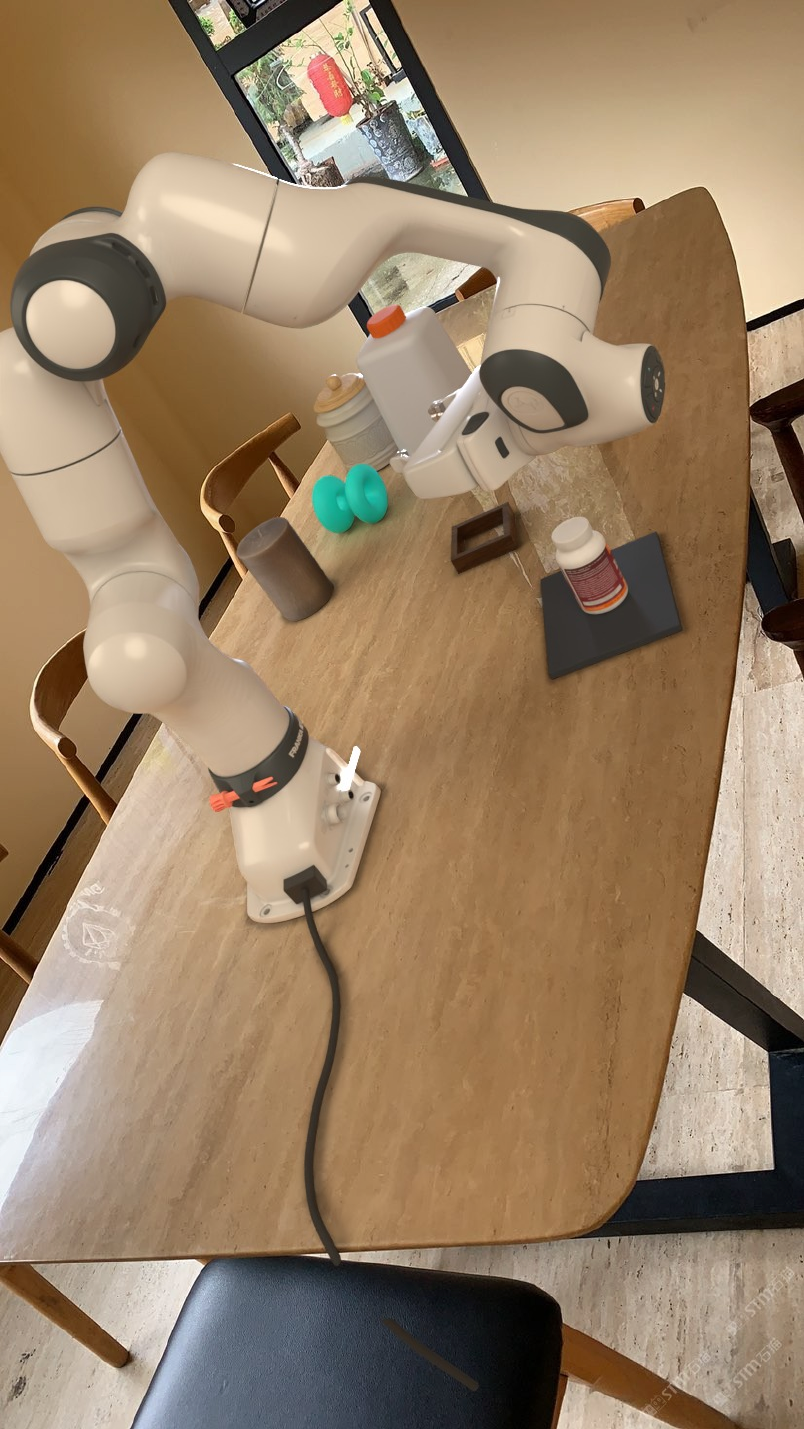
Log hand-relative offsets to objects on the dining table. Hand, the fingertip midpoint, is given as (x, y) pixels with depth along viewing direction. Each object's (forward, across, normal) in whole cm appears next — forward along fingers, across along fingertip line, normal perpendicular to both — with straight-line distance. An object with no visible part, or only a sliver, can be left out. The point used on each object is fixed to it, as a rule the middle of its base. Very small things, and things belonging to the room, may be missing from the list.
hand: (414, 437), depth 116 cm
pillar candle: (+47, -10, +30) cm, 57 cm away
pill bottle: (-10, -4, +29) cm, 31 cm away
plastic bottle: (+33, -43, +30) cm, 62 cm away
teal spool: (+48, -30, +30) cm, 64 cm away
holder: (+16, -19, +30) cm, 39 cm away
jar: (+58, -50, +30) cm, 82 cm away
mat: (-10, -4, +30) cm, 32 cm away
